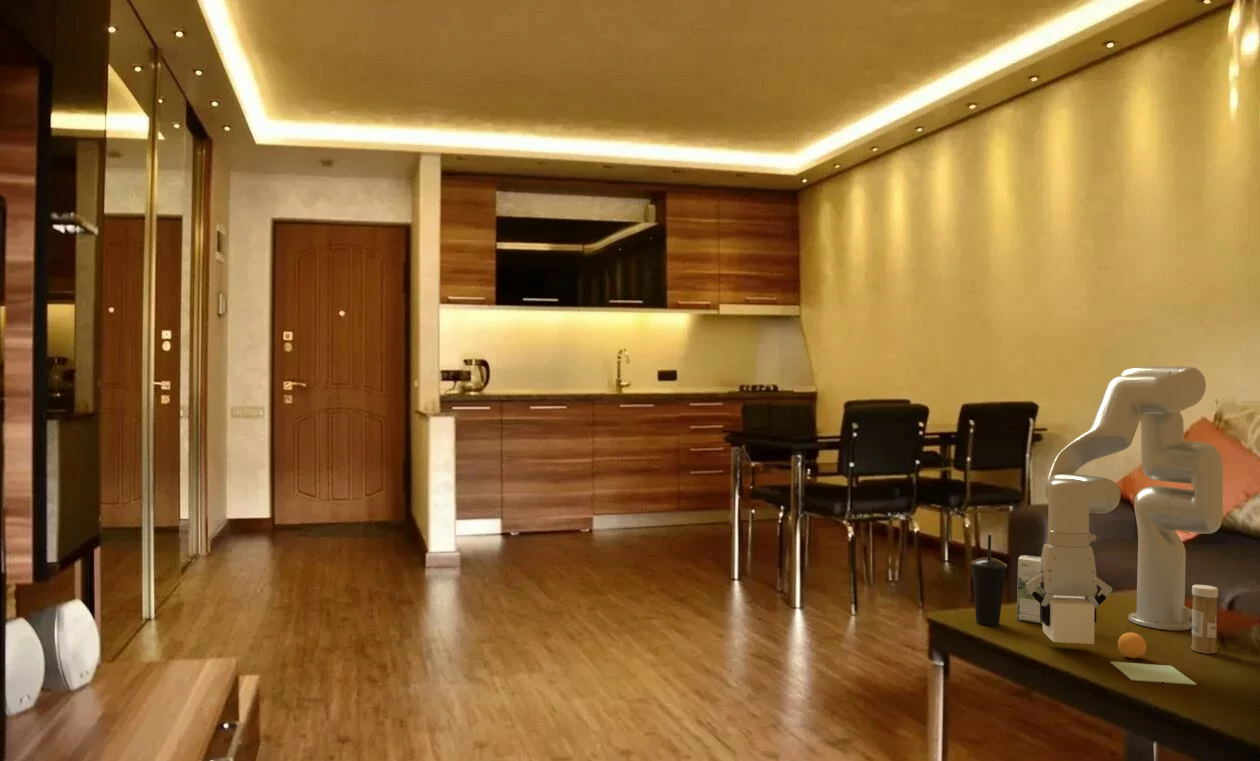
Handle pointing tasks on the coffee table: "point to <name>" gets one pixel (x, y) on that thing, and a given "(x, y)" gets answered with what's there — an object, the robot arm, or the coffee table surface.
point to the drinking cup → (988, 588)
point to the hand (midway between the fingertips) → (1067, 624)
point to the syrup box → (1025, 601)
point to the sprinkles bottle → (1204, 619)
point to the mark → (1152, 673)
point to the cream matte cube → (1070, 620)
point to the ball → (1132, 645)
